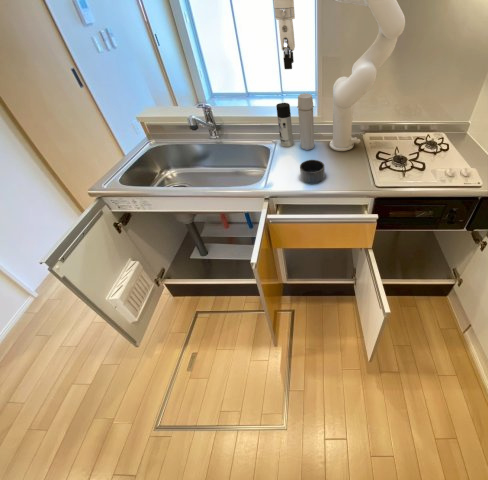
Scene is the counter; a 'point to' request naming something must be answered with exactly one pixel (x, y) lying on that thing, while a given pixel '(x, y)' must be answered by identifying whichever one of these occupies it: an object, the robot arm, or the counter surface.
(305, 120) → the water bottle
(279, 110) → the spray can
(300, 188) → the counter surface
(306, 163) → the can holder
